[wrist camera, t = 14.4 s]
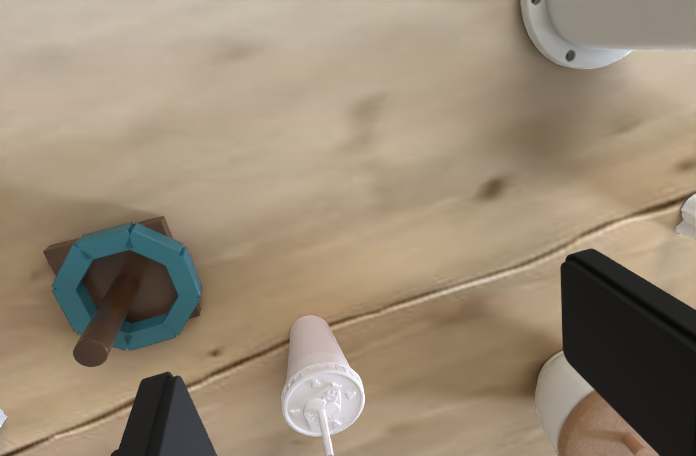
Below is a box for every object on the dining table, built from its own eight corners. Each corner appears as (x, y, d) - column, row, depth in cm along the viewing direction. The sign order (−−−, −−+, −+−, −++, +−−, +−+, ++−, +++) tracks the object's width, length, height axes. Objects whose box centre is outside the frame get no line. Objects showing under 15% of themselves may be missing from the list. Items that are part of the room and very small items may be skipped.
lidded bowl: (548, 435, 55) (615, 523, 45) (493, 379, 50) (553, 464, 40) (634, 368, 54) (722, 443, 44) (586, 304, 49) (672, 372, 39)
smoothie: (264, 348, 43) (269, 476, 31) (293, 292, 42) (311, 402, 29) (324, 367, 46) (352, 494, 33) (355, 315, 44) (397, 426, 31)
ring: (172, 211, 36) (169, 218, 35) (214, 316, 40) (212, 327, 38) (40, 245, 35) (31, 254, 34) (96, 350, 39) (90, 362, 38)
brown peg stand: (163, 215, 37) (134, 273, 28) (201, 308, 41) (186, 387, 31) (49, 245, 36) (-22, 315, 27) (97, 337, 40) (50, 427, 31)
